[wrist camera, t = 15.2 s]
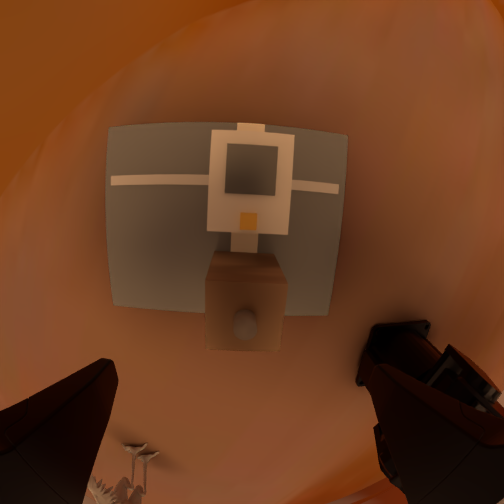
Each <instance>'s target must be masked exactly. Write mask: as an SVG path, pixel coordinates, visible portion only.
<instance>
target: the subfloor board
mask: <svg viewBox="0 0 504 504" xmlns="http://www.w3.org/2000/svg"><path fill="white" fill-rule="evenodd" d="M212 130H239V131H256V132H270V133H281V134H290V135H295V137H294V156H293V172H292V187H291V201H290V214H289V226H288V235H280V234H261V233H240V232H217V231H207V211H208V186H209V166H210V149H211V134H212ZM347 148H348V135H342V134H337V133H331V132H324V131H318V130H311V129H303V128H295V127H286V126H276V125H265V124H255V123H229V122H172V123H151V124H137V125H126V126H116V127H109V131H108V143H107V157H106V185H105V209H106V237H107V252H108V264H109V274H110V283H111V291H112V299H113V305H116V306H125V307H134V308H144V309H155V310H167V311H180V312H195V313H205V279H206V276H207V273H208V269H209V266H210V263H211V260H212V257H213V254H214V251H228V252H248V253H267V254H274V255H275V257H276V259H277V261H278V263H279V265H280V268H281V270H282V272H283V274H284V276H285V278H286V280H287V282H288V291H287V299H286V307H285V315H284V316H322V315H328V312H329V306H330V301H331V295H332V289H333V283H334V277H335V270H336V263H337V256H338V249H339V241H340V233H341V224H342V215H343V205H344V194H345V181H346V167H347Z"/></svg>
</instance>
